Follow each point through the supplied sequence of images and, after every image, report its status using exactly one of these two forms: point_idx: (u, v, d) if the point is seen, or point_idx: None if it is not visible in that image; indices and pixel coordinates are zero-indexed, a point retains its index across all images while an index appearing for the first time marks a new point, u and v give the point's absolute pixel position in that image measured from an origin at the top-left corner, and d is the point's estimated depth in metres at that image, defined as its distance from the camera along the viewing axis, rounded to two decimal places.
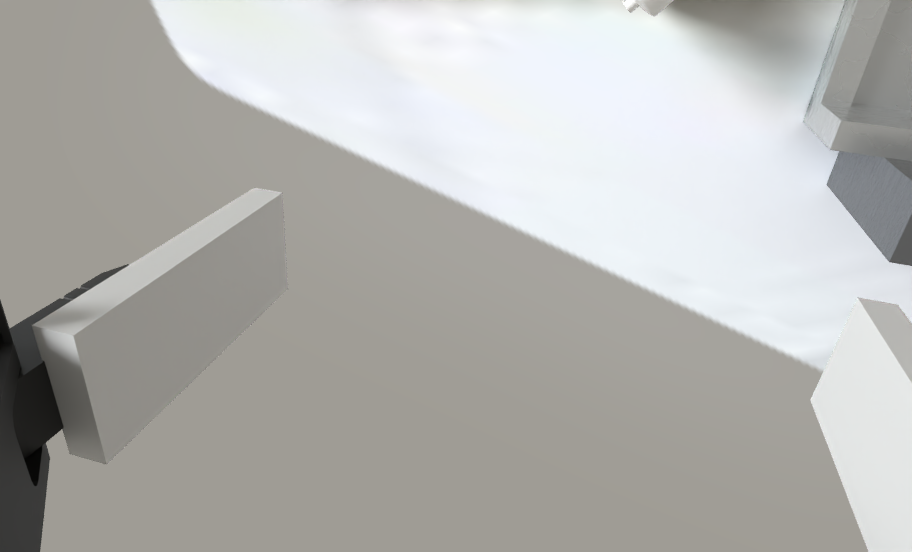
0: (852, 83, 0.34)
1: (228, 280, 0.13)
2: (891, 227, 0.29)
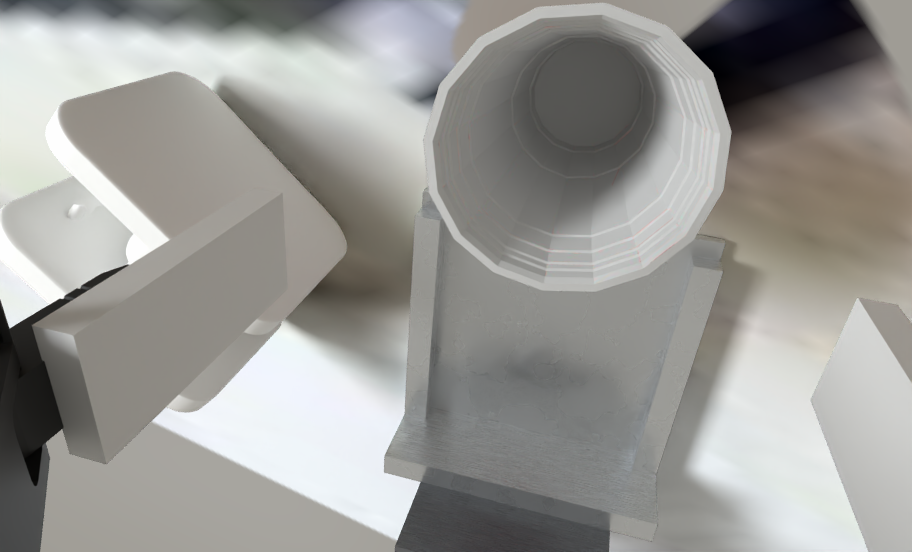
0: (421, 405, 0.42)
1: (228, 280, 0.13)
2: None
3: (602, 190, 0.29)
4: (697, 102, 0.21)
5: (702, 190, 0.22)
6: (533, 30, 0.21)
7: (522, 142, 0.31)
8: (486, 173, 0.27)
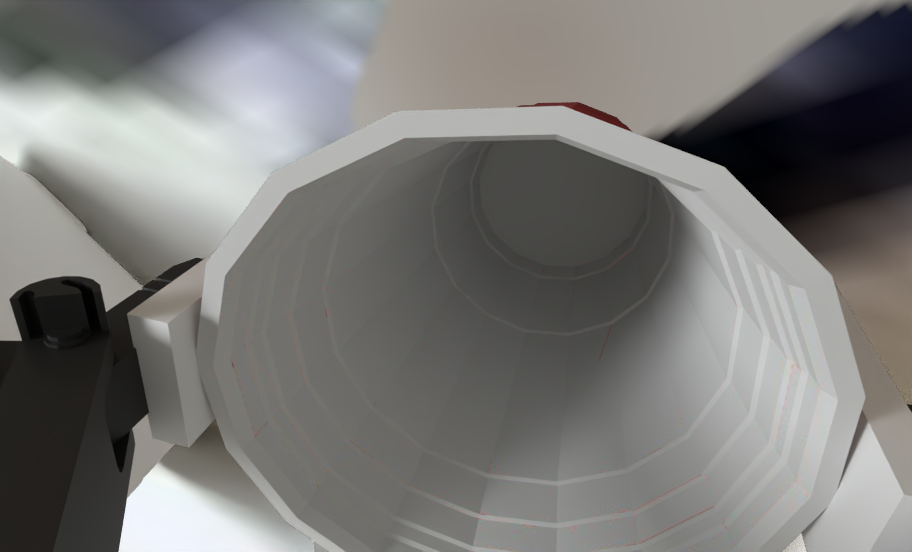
0: None
1: None
2: None
3: (582, 369, 0.17)
4: (778, 313, 0.10)
5: (783, 484, 0.10)
6: (408, 149, 0.09)
7: (454, 274, 0.19)
8: (370, 363, 0.15)
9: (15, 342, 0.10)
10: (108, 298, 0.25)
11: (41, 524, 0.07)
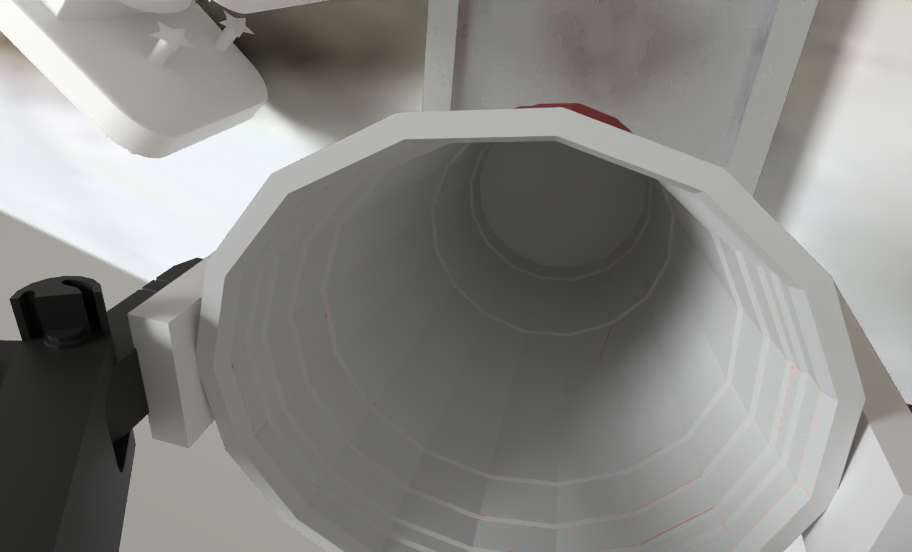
0: None
1: None
2: None
3: (582, 369, 0.17)
4: (779, 314, 0.10)
5: (783, 485, 0.10)
6: (408, 150, 0.09)
7: (454, 275, 0.19)
8: (370, 364, 0.15)
9: (15, 342, 0.10)
10: None
11: (41, 523, 0.07)
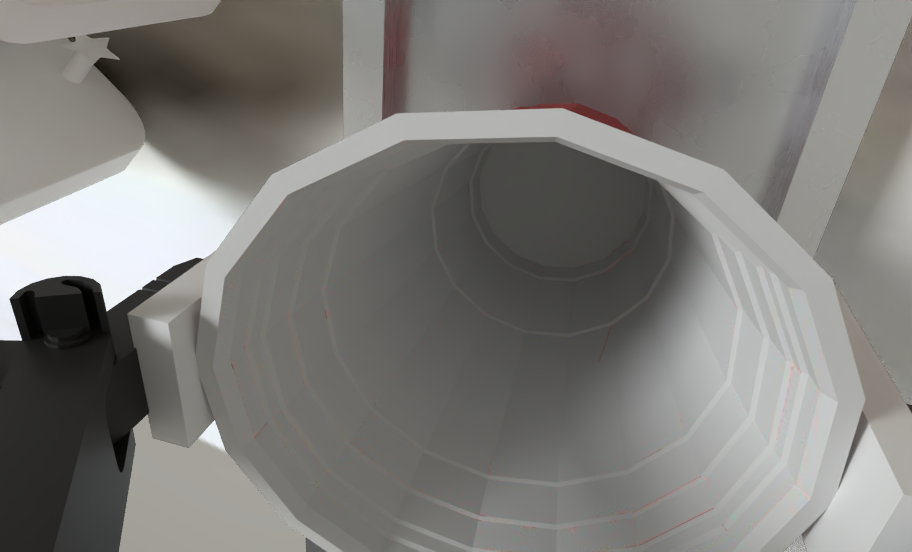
0: None
1: None
2: None
3: (582, 370, 0.17)
4: (778, 315, 0.10)
5: (783, 485, 0.10)
6: (408, 151, 0.09)
7: (454, 275, 0.19)
8: (370, 364, 0.15)
9: (15, 342, 0.10)
10: None
11: (41, 523, 0.07)
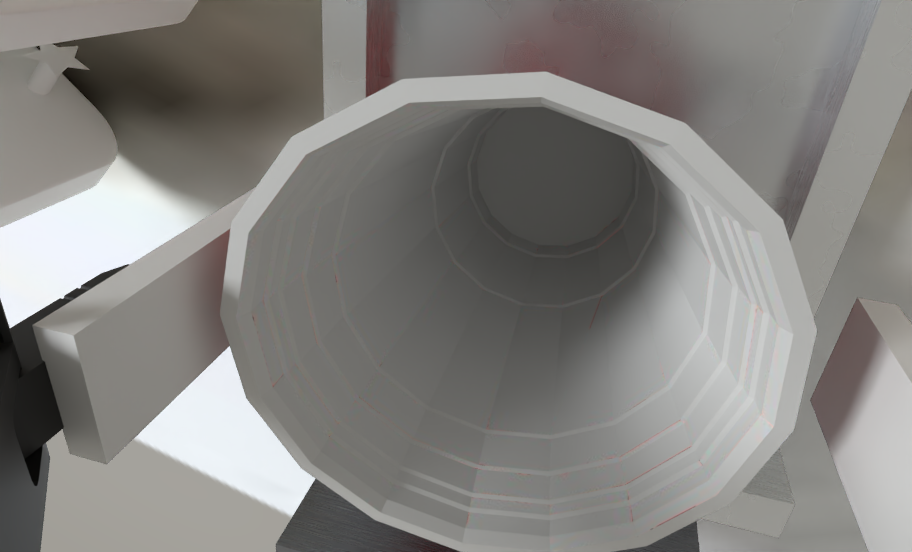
0: None
1: None
2: None
3: (574, 336, 0.18)
4: (742, 260, 0.11)
5: (750, 417, 0.12)
6: (412, 117, 0.11)
7: (453, 251, 0.20)
8: (376, 328, 0.16)
9: None
10: None
11: None
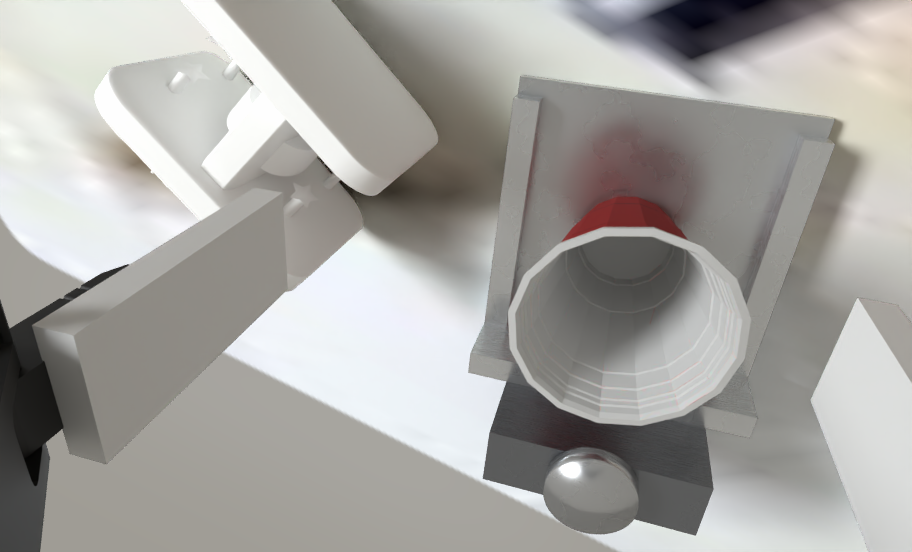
0: (503, 309, 0.42)
1: (228, 280, 0.13)
2: None
3: (641, 328, 0.35)
4: (723, 292, 0.28)
5: (728, 355, 0.29)
6: None
7: (573, 282, 0.37)
8: (549, 321, 0.33)
9: None
10: (375, 63, 0.36)
11: None
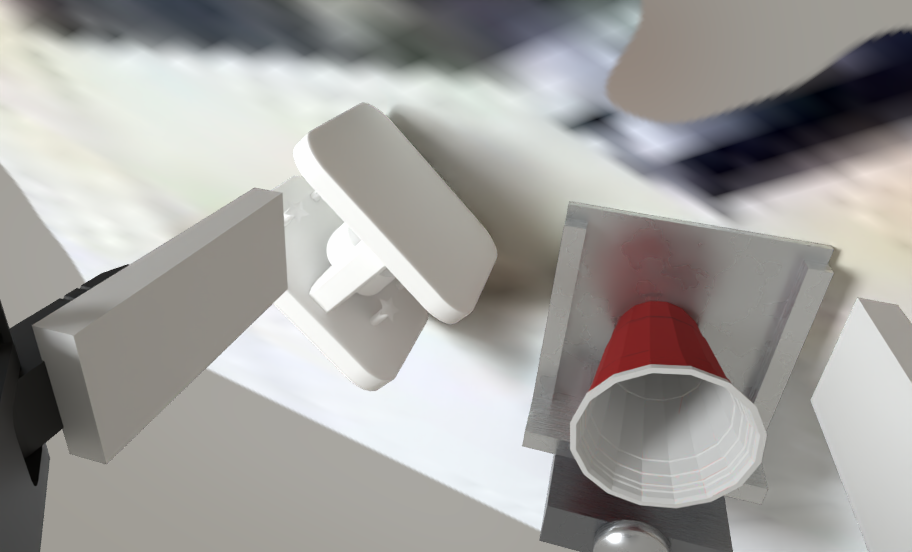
0: (549, 388, 0.49)
1: (228, 280, 0.13)
2: (544, 515, 0.44)
3: (671, 416, 0.43)
4: (745, 411, 0.35)
5: (747, 458, 0.36)
6: None
7: None
8: (598, 417, 0.40)
9: None
10: (445, 193, 0.43)
11: None
